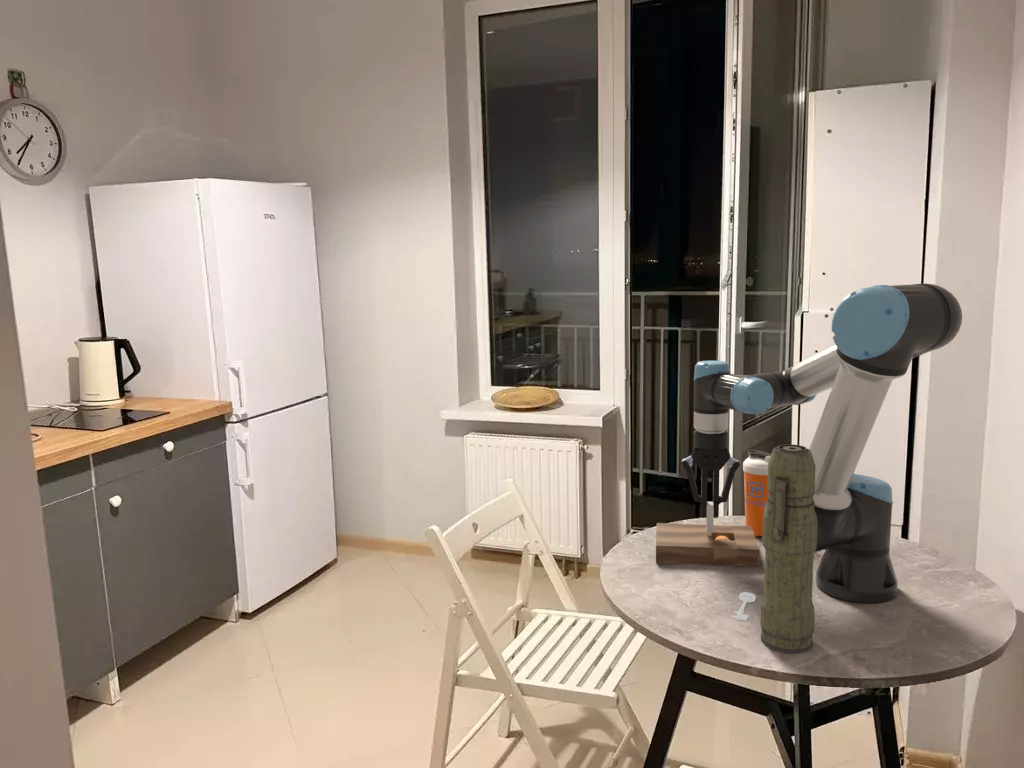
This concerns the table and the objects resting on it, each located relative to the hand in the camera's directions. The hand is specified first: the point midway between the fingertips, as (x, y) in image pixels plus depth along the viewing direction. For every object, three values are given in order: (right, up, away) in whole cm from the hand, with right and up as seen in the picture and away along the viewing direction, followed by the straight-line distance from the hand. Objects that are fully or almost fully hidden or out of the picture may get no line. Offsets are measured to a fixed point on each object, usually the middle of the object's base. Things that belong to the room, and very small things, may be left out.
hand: (709, 530), depth 179 cm
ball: (+3, -3, 0) cm, 4 cm away
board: (-1, -5, +1) cm, 5 cm away
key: (0, -10, -27) cm, 29 cm away
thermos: (+3, -12, -41) cm, 43 cm away
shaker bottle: (+16, -3, +13) cm, 21 cm away
